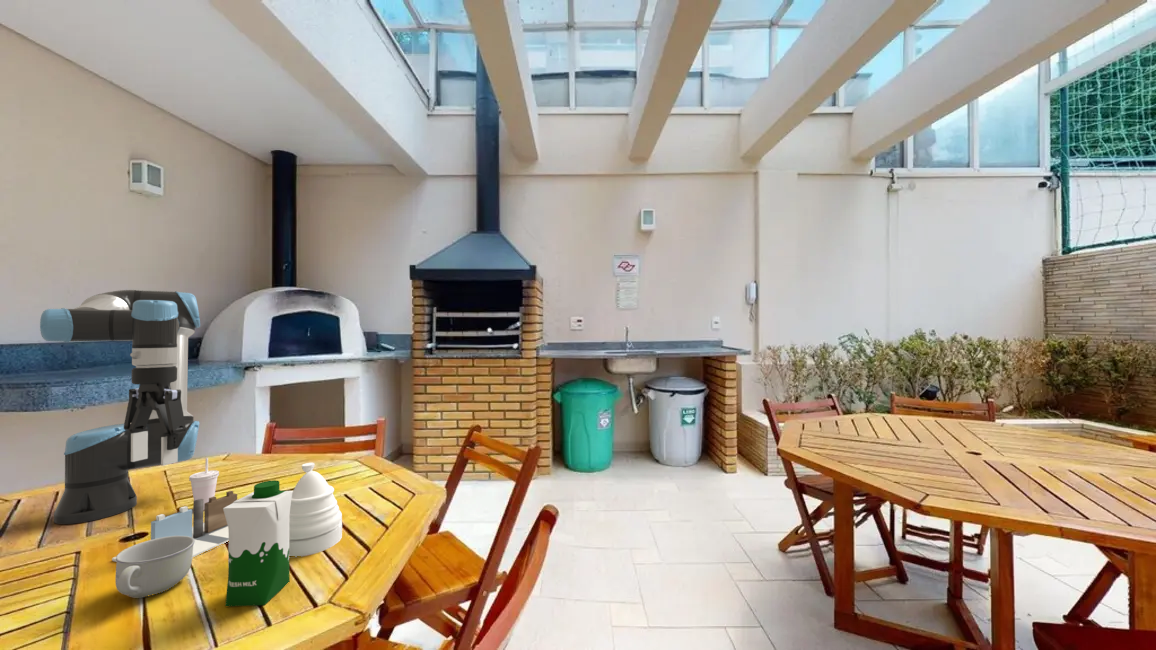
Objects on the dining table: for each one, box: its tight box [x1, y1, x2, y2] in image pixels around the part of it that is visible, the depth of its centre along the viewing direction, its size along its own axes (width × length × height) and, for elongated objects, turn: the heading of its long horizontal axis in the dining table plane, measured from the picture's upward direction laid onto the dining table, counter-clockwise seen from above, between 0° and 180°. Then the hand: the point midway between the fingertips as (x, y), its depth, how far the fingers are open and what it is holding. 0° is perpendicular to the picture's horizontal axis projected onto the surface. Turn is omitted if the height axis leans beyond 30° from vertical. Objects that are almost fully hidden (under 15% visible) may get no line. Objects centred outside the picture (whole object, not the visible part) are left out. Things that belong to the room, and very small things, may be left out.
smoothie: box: [188, 457, 220, 511], centre depth 119 cm, size 6×6×14 cm
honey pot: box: [289, 462, 343, 558], centre depth 99 cm, size 13×13×18 cm
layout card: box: [111, 522, 229, 563], centre depth 99 cm, size 16×21×1 cm
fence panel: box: [150, 506, 193, 540], centre depth 96 cm, size 1×7×8 cm, turn 164°
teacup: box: [115, 536, 195, 599], centre depth 80 cm, size 14×11×8 cm
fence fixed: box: [192, 490, 238, 538], centre depth 104 cm, size 2×9×9 cm, turn 163°
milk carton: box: [223, 479, 293, 607], centre depth 79 cm, size 9×9×20 cm
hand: (154, 461), depth 97 cm, fingers open, 10 cm apart
